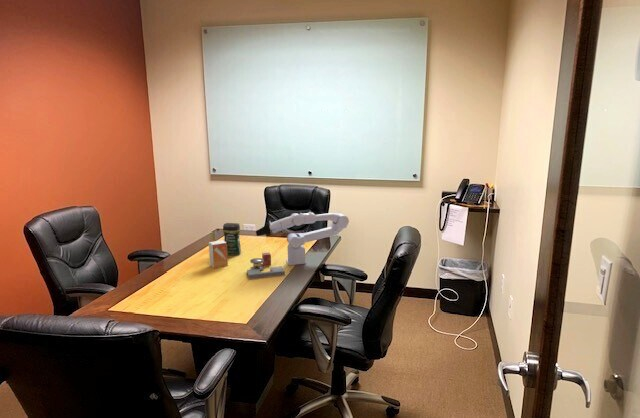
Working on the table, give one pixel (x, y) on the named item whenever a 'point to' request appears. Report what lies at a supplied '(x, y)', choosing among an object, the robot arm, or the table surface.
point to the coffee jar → (232, 238)
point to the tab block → (266, 259)
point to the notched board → (257, 274)
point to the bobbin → (257, 263)
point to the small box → (218, 254)
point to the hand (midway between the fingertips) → (256, 233)
